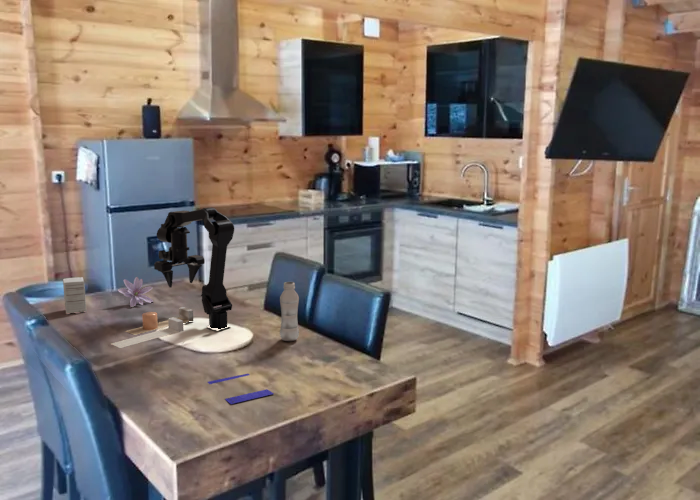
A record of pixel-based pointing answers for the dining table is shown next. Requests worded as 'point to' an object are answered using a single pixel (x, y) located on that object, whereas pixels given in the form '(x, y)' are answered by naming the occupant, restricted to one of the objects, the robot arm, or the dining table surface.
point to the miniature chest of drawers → (74, 294)
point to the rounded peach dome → (150, 320)
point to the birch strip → (184, 315)
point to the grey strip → (153, 333)
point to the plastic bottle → (289, 313)
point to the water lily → (133, 292)
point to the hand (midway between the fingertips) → (180, 285)
